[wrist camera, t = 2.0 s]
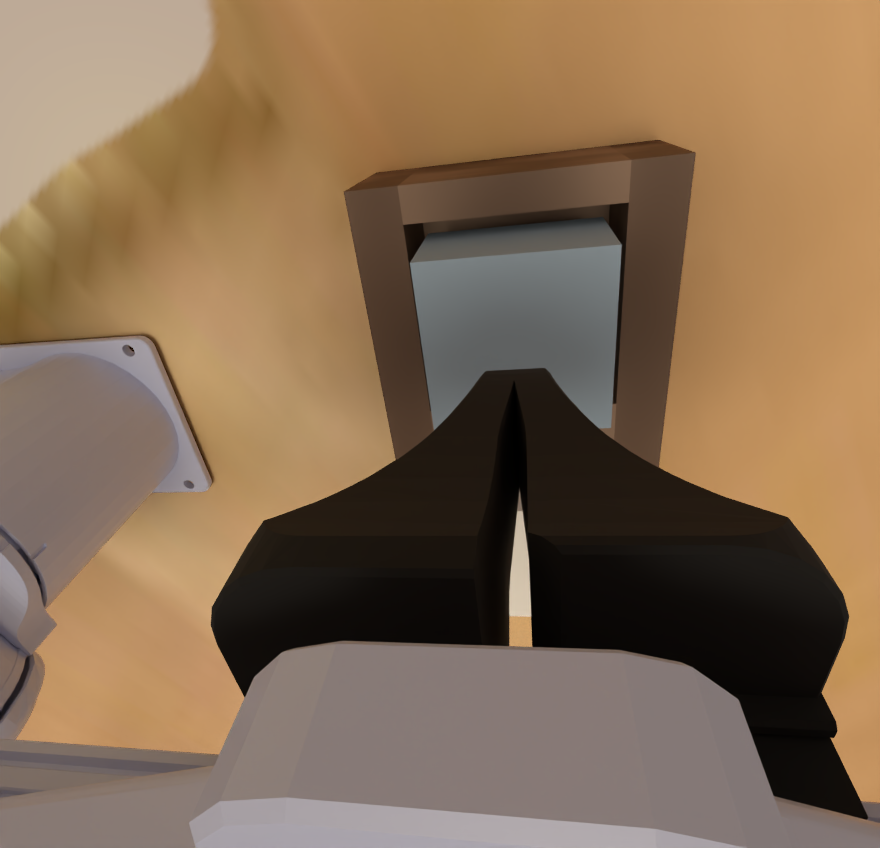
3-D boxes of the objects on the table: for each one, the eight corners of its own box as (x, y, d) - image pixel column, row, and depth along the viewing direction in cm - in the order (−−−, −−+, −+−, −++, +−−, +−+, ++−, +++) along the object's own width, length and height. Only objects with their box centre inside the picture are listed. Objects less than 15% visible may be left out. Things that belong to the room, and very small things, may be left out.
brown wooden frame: (434, 529, 26) (421, 594, 23) (376, 172, 18) (343, 191, 15) (625, 529, 25) (643, 598, 21) (658, 140, 16) (695, 152, 13)
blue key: (446, 383, 18) (434, 433, 16) (428, 233, 16) (409, 262, 13) (596, 376, 18) (611, 427, 15) (602, 216, 15) (621, 244, 12)
